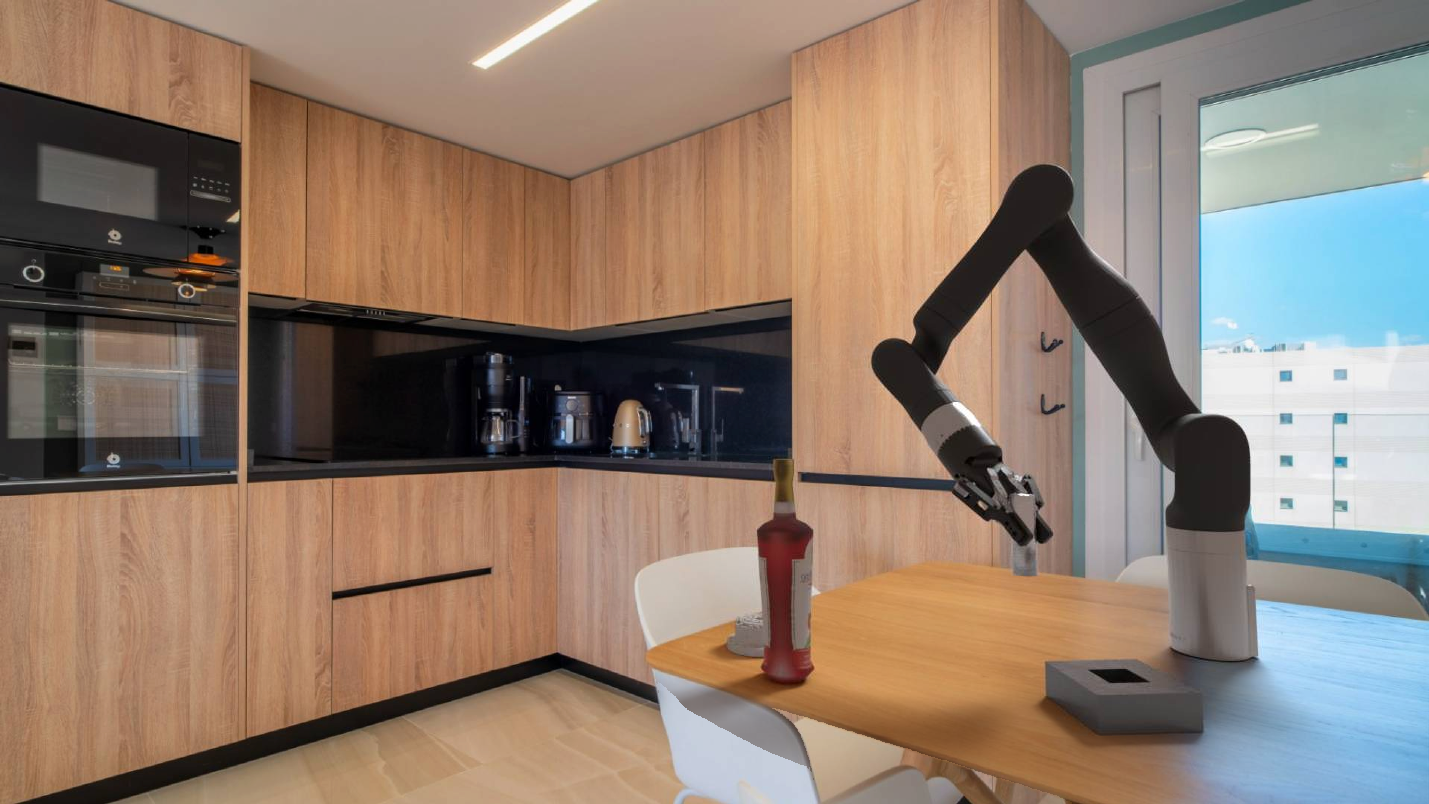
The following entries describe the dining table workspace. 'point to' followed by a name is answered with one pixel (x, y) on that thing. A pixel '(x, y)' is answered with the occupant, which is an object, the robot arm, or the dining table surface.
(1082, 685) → the square hole block
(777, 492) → the liquor
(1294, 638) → the dining table surface
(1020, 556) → the steel pin
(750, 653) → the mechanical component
